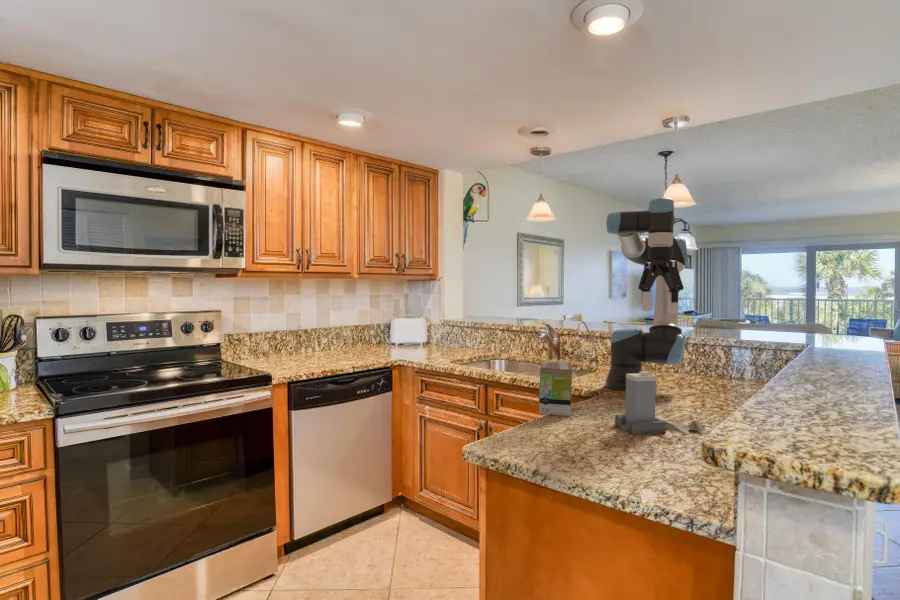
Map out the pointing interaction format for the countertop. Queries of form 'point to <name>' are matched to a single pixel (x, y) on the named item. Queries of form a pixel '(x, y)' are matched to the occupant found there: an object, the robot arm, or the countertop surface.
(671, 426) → the fossil
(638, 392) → the grey tall block
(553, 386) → the tea box
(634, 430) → the pocket
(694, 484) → the countertop surface
